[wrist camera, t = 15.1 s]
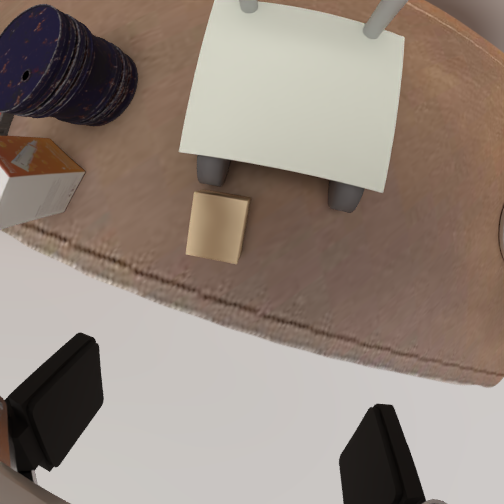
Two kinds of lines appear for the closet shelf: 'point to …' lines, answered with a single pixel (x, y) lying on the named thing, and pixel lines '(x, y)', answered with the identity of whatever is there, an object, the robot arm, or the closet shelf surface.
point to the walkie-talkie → (5, 123)
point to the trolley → (296, 95)
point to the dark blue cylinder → (62, 70)
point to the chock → (217, 225)
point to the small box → (34, 179)
